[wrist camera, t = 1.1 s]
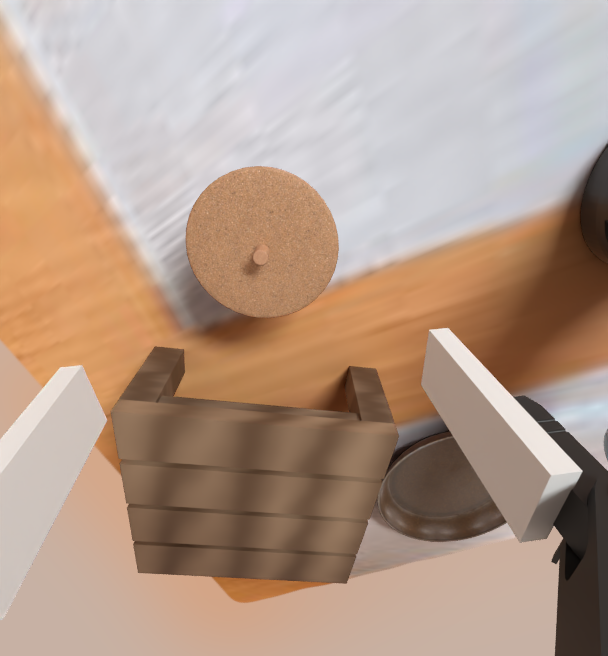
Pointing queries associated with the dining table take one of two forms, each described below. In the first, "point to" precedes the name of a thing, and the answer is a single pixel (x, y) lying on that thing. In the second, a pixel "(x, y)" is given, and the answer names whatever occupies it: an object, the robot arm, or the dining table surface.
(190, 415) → the walnut rack
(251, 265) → the lidded jar
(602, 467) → the robot arm
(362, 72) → the dining table surface
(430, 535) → the plant saucer
